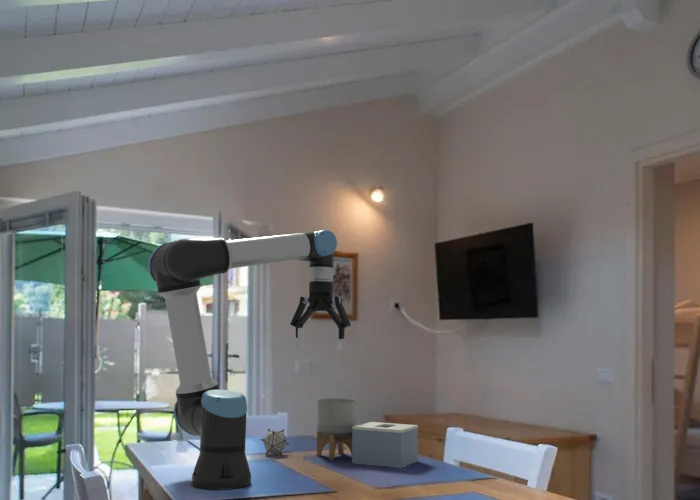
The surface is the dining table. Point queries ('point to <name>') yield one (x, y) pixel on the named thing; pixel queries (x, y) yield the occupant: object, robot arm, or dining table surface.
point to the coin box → (385, 444)
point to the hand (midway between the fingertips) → (319, 349)
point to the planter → (335, 424)
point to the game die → (274, 441)
